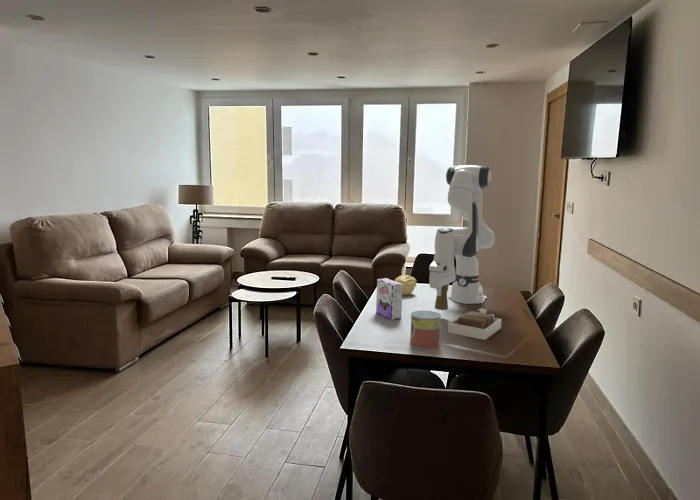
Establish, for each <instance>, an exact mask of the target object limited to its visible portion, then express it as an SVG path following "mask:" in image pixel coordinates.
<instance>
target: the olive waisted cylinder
mask: <svg viewBox="0 0 700 500" xmlns="http://www.w3.org/2000/svg"><path fill="white" fill-rule="evenodd" d="M448 290H449V287H448V286H447V285H444V286H442V289H441V292H442V296H437V295H436V296H435V297H436V298H435V303H434V309H435V310H438V311H447V310H449V304H448Z"/></svg>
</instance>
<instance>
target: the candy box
mask: <svg viewBox="0 0 700 500" xmlns="http://www.w3.org/2000/svg"><path fill="white" fill-rule="evenodd" d="M402 290H403V284H401V283H398V282H395V280H392V279H389V278H387V277H384V278H377V279H376V304H375V305H376V309H375V311H376V312H375V313H376V314H379V315H380V316H382V317H384V318H386V319H389V320H391V321H392V320H393V321H394V320H401V319H402V310H403V309H402V307H403V295H402Z"/></svg>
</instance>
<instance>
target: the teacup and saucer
mask: <svg viewBox="0 0 700 500" xmlns="http://www.w3.org/2000/svg"><path fill="white" fill-rule="evenodd" d="M476 312H480V313H485V314H487V308H481V307H480V308H479V309H477V310H476ZM490 314H491V315H493V318H495V315H494V314H493V313H490Z"/></svg>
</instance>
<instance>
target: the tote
mask: <svg viewBox="0 0 700 500" xmlns="http://www.w3.org/2000/svg"><path fill="white" fill-rule="evenodd" d="M466 313H467V312H466ZM466 313H464V314H466ZM459 317H460V316H458V317H456V318H455V319H453V320H451V321H449V322H448V327H447V333H449V334H450V333H451V334H453V335H458V336H464V337H469V338H473V339H479V340H483V341H486V340H487V339H488V338H490V337H491V336H493V334H495V333H497V332H498V331H499V330H501V329H502V318H497V317H493V324H491V325H490V326H488V327H487V328H485V329H480V328H475V327H470V326H465V325H460V324H458V318H459Z"/></svg>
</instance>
